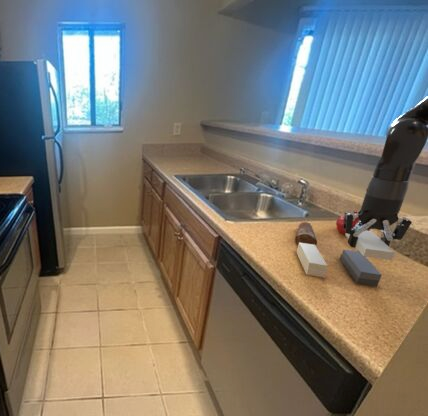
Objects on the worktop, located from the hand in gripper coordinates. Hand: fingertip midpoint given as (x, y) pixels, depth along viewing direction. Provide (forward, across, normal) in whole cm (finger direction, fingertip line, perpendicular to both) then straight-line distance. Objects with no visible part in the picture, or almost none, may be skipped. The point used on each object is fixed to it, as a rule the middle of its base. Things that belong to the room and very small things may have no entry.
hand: (366, 248), depth 81 cm
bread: (+8, -10, +20) cm, 24 cm away
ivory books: (+8, -12, 0) cm, 15 cm away
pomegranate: (+8, +7, +31) cm, 33 cm away
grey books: (+8, 0, 0) cm, 8 cm away
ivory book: (-1, 0, 0) cm, 1 cm away
